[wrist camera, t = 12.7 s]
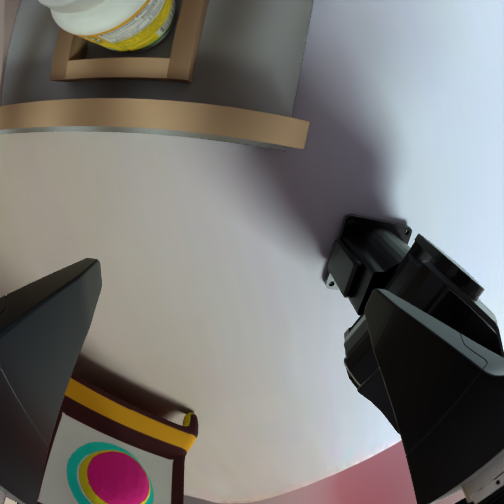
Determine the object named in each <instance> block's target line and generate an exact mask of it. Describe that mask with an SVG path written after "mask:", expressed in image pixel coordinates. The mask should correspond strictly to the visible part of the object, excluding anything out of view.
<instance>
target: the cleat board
mask: <svg viewBox="0 0 504 504" xmlns="http://www.w3.org/2000/svg"><path fill="white" fill-rule="evenodd" d="M313 1H314V0H175V2H176V5H177V16H176V20H175V23H174V25H173V27H172V29H171V30H170V32H169V33H168V34H167V36H166V37H165V38H164V39H163V40H162V41H161V42H159V43H158V44H157V45H155V46H153V47H152V48H150V49H148V50H145V51H143V52H139V53H134V54H124V53H119V52H116V51H113V50H110V49H108V48H105V47H103V46H101V45H99V44H96V43H94V42H91V41H89V40H86V39H84V38H81V37H79V36H77V35H74V34H72V33H69V32H67V31H65V30H63V29H62V28H61V27H60V26H58V24H57V23H56V22H55V21H54V19H53V17H52V14H51V10H50V8H48V7H47V6H45V5H43V4H41V3H40V2H39V1H38V0H21V2H20V5H19V9H18V12H17V16H16V19H15V23H14V27H13V31H12V36H11V40H10V45H9V50H8V55H7V61H6V67H5V73H4V81H3V89H2V98H1V106H0V134H10V133H26V132H53V131H98V132H126V133H144V134H158V135H170V136H181V137H191V138H200V139H208V140H216V141H224V142H231V143H238V144H245V145H251V146H258V147H264V148H270V149H275V150H281V151H285V147H286V146H288V147H294V148H299V149H304V147H305V142H306V137H307V133H308V128H309V123H310V122H309V121H305V120H300V119H295V118H291V117H292V112H293V106H294V101H295V96H296V91H297V86H298V81H299V76H300V70H301V65H302V60H303V55H304V49H305V44H306V39H307V33H308V28H309V23H310V17H311V12H312V6H313Z"/></svg>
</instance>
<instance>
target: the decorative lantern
mask: <svg viewBox="0 0 504 504" xmlns="http://www.w3.org/2000/svg"><path fill="white" fill-rule="evenodd" d="M197 435H198V420H197V416H196V415H195V414H194V413H187V414H186V415H185V417H184V420H183V426H181V425H178V424H175V423H173V422H170V421H168V420H165V419H163V418H161V417H158V416H156V415H154V414H151V413H149V412H147V411H145V410H142V409H140V408H138V407H136V406H134V405H132V404H129V403H127V402H125V401H123V400H121V399H119V398H117V397H115V396H113V395H111V394H109V393H107V392H105V391H104V390H102V389H100V388H98V387H96V386H94V385H92V384H91V383H89V382H87V381H85V380H84V379H82V378H80V377H78V376H77V375H76V374H75V373H74V372H72V375H71V378H70V380H69V383H68V386H67V389H66V392H65V395H64V398H63V401H62V404H61V407H60V410H59V414H58V417H57V420H56V424H55V427H54V431H53V434H52V438H51V441H50V445H49V446H48V447H49V450H48V454H47V458H46V462H45V466H44V470H43V475H42V480H41V484H40V490H39V495H38V500H37V504H183V496H184V461H185V456H186V454H187V452H188V450H189V449H190V448H191V446H192V445H193V443H194V442H195V440H196V438H197ZM17 504H19V503H17Z"/></svg>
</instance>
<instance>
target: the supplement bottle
mask: <svg viewBox="0 0 504 504" xmlns="http://www.w3.org/2000/svg"><path fill="white" fill-rule="evenodd" d="M38 1H39V2H40V3H41V4H43V5H45V6H47V7H48V8H50V10H51V14H52V17H53V19H54V21H55V22H56V23H57V24H58V26H60V27H61V28H62V29H63V30H65V31H67V32H69V33H72V34H74V35H77V36H79V37H81V38H84V39H86V40H89V41H91V42H94V43H96V44H99V45H101V46H103V47H105V48H108V49H110V50H113V51H116V52H119V53H124V54H134V53H139V52H143V51H145V50H148V49H150V48H152V47H153V46H155V45H157V44H158V43H159V42H161V41H162V40H163V39H164V38H165V37H166V36H167V34H168V33H169V32H170V30H171V29H172V27H173V25H174V23H175V20H176V16H177V5H176V2H175V0H38Z"/></svg>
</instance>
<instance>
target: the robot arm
mask: <svg viewBox="0 0 504 504" xmlns="http://www.w3.org/2000/svg"><path fill="white" fill-rule="evenodd" d="M350 219H352V222H351V223H348V221H349V220H350ZM406 230H407V232H406V233H405V231H406ZM411 233H412V229H411V228H410V227H409V226H407V225H403V224H398V223H393V222H389V221H384V220H379V219H373V218H368V217H363V216H358V215H352V214H349V215H346V216H345V218H344V220H343V224H342V227H341V231H340V234H339V237H338V239H337V240H336V241H335V243H334V247H333V250H332V253H331V256H330V260H329V263H328V266H327V269H328V273H327V276H326V279H325V285H326V287H327V288H328V289H337V290H340V291H341V293H342V294H343V296H344V297H345V298H349V300H350V302H351V304H352V305H353V307H354V309H355V310H356V312H357V314H358V315H361V316H360V317H359V318H358V320H357V321H356V322H355V323H354V324H353V326H352V327H351V328H348V330H347V331H346V332H345V333H344V337H345V342H344V346H345V353H346V357H345V359H344V364H345V366H346V369H347V373H348V376H349V379H350V380H351V381H352V383H353V384H354V385H355V386H356V388H357V390H358V392H359V393H360V394H361V395H363V396H364V397H366V398H367V399H368V400H370V401H371V402H372V403H373V404H374V405H375V406H376V407H377V408H378V409H379V410H380V411H381V412H382V413H383V414H384V415H385V417H386V418H387V419H388V421H389V422H390V423H391V425H392V426H393V427H394V429H395V430H396V431H397V432H398V433H399V434H400V435H401V439H402V443H403V446H404V450H405V454H406V458H407V462H408V466H409V470H410V474H411V478H412V482H413V487H414V491H415V495H416V501H417V504H434V503H436V502H438V501H440V500H443V499H444V498H447V497H449V496H451V495H453V494H455V493H457V492H459V491H461V490H462V491H463V493H464V495H465V498H464V499H462V500H460V501H459V502H457V503H455V504H504V351H503V346H502V341H501V337H500V333H499V328H498V325H497V321H496V317H495V315H494V314H493V313H492V312H491V311H490V310H489V309H488V308H487V307H486V306H485V305H484V304H483V303H482V302H481V301H480V300H479V299H478V298H479V296H480V295H481V294H482V292H483V291H484V288H483V287H482V286H481V285H480V284H479V283H478V282H477V281H476V280H475V279H474V278H473V277H472V276H471V275H470V274H469V273H468V272H466V271H465V270H464V269H463V268H462V267H461V266H460V265H458V264H457V263H456V262H455V261H454V260H452V259H451V258H450V257H449V256H447V255H446V254H445V253H444V252H442V251H441V250H440V249H439V248H437V247H436V246H435V245H434V244H432V243H431V242H430V241H428V240H427V239H426V238H424V237H423V236H422V235H420V234H418V235H417V237H416V238H415V242H414V244H413V245H412V247H411V248H410V247H409V246H408V245H407V244H408V242H409V239H410V236H411ZM331 281H333V283H331V284H329V283H330V282H331ZM101 287H102V279H101V268H100V262H99V260H98V259H92V258H86V259H83V260H81V261H79V262H77V263H74V264H72V265H70V266H67V267H65V268H63V269H61V270H58V271H56V272H54V273H52V274H50V275H47V276H45V277H43V278H41V279H39V280H37V281H34V282H32V283H30V284H28V285H26V286H24V287H22V288H20V289H18V290H16V291H13V292H11V293H9V294H7V296H3V297H1V298H0V504H4V502H5V498H6V497H7V498H9V499H11V500H13V501H15V502H17V503H19V504H37V500H38V495H39V490H40V484H41V480H42V475H43V470H44V466H45V462H46V458H47V454H48V450H49V447H48V446H49V445H50V441H51V438H52V434H53V431H54V427H55V424H56V420H57V417H58V414H59V410H60V407H61V404H62V401H63V398H64V395H65V392H66V389H67V386H68V383H69V380H70V378H71V375H72V372H73V369H74V366H75V364H76V361H77V358H78V356H79V353H80V351H81V348H82V346H83V343H84V341H85V338H86V336H87V333H88V330H89V328H90V325H91V321H92V318H93V314H94V311H95V308H96V304H97V301H98V298H99V295H100V292H101Z"/></svg>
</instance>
